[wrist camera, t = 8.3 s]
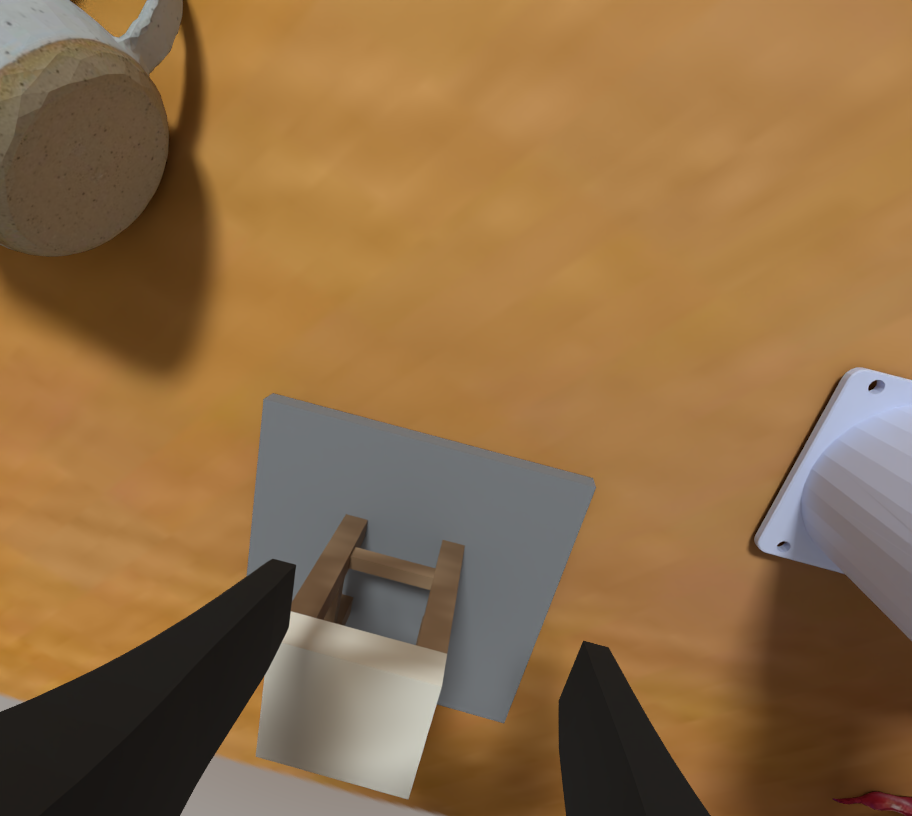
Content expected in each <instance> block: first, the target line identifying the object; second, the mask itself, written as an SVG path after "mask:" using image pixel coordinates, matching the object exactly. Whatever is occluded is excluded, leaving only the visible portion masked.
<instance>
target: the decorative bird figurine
mask: <svg viewBox="0 0 912 816" xmlns="http://www.w3.org/2000/svg"><path fill="white" fill-rule="evenodd" d="M833 800H835V801H837V802H839V803H843V804H855V803H862V804H864V805H866V806H869V807H870V808H872V809H874V810H881V811H883V810H889V811H896V812H898V813H901V814H903V815H906V816H912V798H910V797H906V796H905V797H899V796H894V795H891V794H886V793H882V792H870V793H868V794H865V795H863V796H860V797H855V798H844V799H833Z"/></svg>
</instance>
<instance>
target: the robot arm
mask: <svg viewBox="0 0 912 816" xmlns="http://www.w3.org/2000/svg"><path fill="white" fill-rule="evenodd" d="M875 380H877V385H876V386H875V388H874V389H872V390H870V391H869V390H868V387H869V385H870V384H871V383H872V382H873V381H875ZM754 541H755V544H756V545H757V546H758V548H759V549H760V550H761V551H763V552H765V553H768V554H772V555H776V556H779V557H783V558H787V559H791V560H794V561H798V562H802V563H805V564H809V565H813V566H817V567H820V568H824V569H828V570H832V571H835V572H839V573H843V574H846V575H847V576H848V577H849V578H850V579H851V580H852V581H853V582H854V583H855V585H856V586H857V587H858V588H859V589H860V590H861V591H862V592H863V593H864V594H865V595H866V596H867V597H868V598H869V599H870V600H871V601H872V602H873V603H874V604H875V605H876V606H877V607H878V608H879V609H880V610H881V611H882V612H883V613H884V614H885V615H886V616H887V617H888V618H889V619H890V620H891V621H892V622H893V623H894V624H895V625H896V626H897V627H898V628H899V629H900V630H901V631H902V632H903V633H904V634H905V635H906V636H907V637H908V638H909V639H910V640H911V641H912V380H910V379H906V378H902V377H898V376H894V375H890V374H886V373H882V372H878V371H874V370H870V369H866V368H859V367H857V368H854V369H851V370H849V371H848V372H846V373H845V374H844V376H843V377H842V379H841V380H840V382H839V384H838V386H837V388H836V390H835V391H834V393H833V395H832V397H831V399H830V400H829V402H828V404H827V406H826V408H825V410H824V411H823V413H822V415H821V417H820V419H819V420H818V422H817V424H816V426H815V428H814V430H813V431H812V433H811V435H810V437H809V439H808V440H807V442H806V444H805V446H804V448H803V450H802V451H801V453H800V455H799V457H798V459H797V460H796V462H795V464H794V466H793V468H792V470H791V471H790V473H789V475H788V477H787V479H786V480H785V482H784V484H783V486H782V488H781V489H780V491H779V493H778V495H777V497H776V499H775V500H774V502H773V504H772V506H771V508H770V509H769V511H768V513H767V515H766V517H765V519H764V520H763V522H762V524H761V526H760V528H759V529H758V531H757V533H756V535H755V538H754ZM783 541H785V543H784V544H783V545H782V546H777V545H778V544H779V543H780V542H783ZM295 571H296V565H295V564H291V563H288V562H284V561H280V560H276V559H271V560H269V561H267V562H266V563H265V564H263V565H262V566H260V567H259V568H258V569H256V570H255V571H254V572H252V573H251V574H249V575H248V576H247V577H245V578H244V579H242V580H241V581H240V582H238V583H237V584H235V585H234V586H232V587H231V588H230V589H228V590H227V591H225V592H224V593H222V594H221V595H219V596H218V597H217V598H215V599H214V600H212V601H211V602H209V603H208V604H206V605H205V606H203V607H202V608H200V609H199V610H197V611H196V612H194V613H193V614H191V615H189V616H188V617H186V618H185V619H183V620H181V621H180V622H178V623H176V624H175V625H173V626H172V627H170V628H168V629H167V630H165V631H163V632H162V633H160V634H158V635H157V636H155V637H154V638H152V639H150V640H148V641H147V642H145V643H143V644H141V645H140V646H138V647H136V648H134V649H133V650H131V651H129V652H127V653H125V654H123V655H122V656H120V657H118V658H116V659H114V660H112V661H110V662H108V663H106V664H104V665H103V666H101V667H99V668H97V669H95V670H93V671H91V672H89V673H86V674H84V675H82V676H80V677H78V678H76V679H74V680H72V681H70V682H68V683H66V684H63V685H61V686H59V687H57V688H55V689H52V690H50V691H48V692H46V693H44V694H42V695H39V696H37V697H35V698H33V699H31V700H28V701H26V702H24V703H21V704H19V705H16V706H14V707H11V708H9V709H6V710H4V711H2V712H0V816H180V814H181V813H182V811H183V809H184V807H185V805H186V803H187V801H188V799H189V797H190V796H191V794H192V792H193V790H194V788H195V786H196V784H197V783H198V781H199V779H200V778H201V776H202V774H203V773H204V771H205V769H206V768H207V766H208V764H209V763H210V761H211V759H212V758H213V756H214V755H215V753H216V752H217V750H218V748H219V747H220V745H221V744H222V742H223V740H224V739H225V737H226V736H227V734H228V733H229V731H230V729H231V728H232V726H233V725H234V723H235V722H236V720H237V718H238V717H239V715H240V714H241V712H242V711H243V709H244V707H245V706H246V704H247V703H248V701H249V699H250V698H251V696H252V695H253V693H254V691H255V690H256V688H257V687H258V685H259V684H260V682H261V680H262V679H263V677H264V675H265V674H266V672H267V671H268V669H269V667H270V665H271V663H272V661H273V659H274V657H275V655H276V653H277V651H278V649H279V647H280V645H281V643H282V641H283V639H284V637H285V635H286V633H287V630H288V628H289V622H290V614H291V605H292V596H293V588H294V579H295ZM559 754H560V764H561V773H562V782H563V791H564V800H565V809H566V816H711V815H710V814H709V813H708V811H707V810H706V808H705V807H704V806H703V804H702V803H701V801H700V800H699V798H698V797H697V795H696V794H695V792H694V791H693V789H692V788H691V786H690V785H689V783H688V782H687V780H686V779H685V777H684V776H683V774H682V773H681V771H680V770H679V768H678V767H677V765H676V763H675V762H674V760H673V759H672V757H671V755H670V754H669V752H668V751H667V749H666V747H665V746H664V744H663V742H662V741H661V739H660V737H659V736H658V734H657V732H656V731H655V729H654V727H653V726H652V724H651V722H650V721H649V719H648V717H647V715H646V714H645V712H644V710H643V708H642V707H641V705H640V703H639V701H638V700H637V698H636V696H635V694H634V692H633V691H632V689H631V687H630V685H629V683H628V682H627V680H626V678H625V676H624V674H623V673H622V671H621V669H620V667H619V665H618V664H617V662H616V660H615V658H614V656H613V655H612V653H611V651H610V649H609V648H608V647H605V646H601V645H597V644H594V643H590V642H586V641H583V643H582V645H581V648H580V650H579V652H578V655H577V657H576V660H575V662H574V665H573V667H572V670H571V672H570V674H569V677H568V679H567V682H566V684H565V687H564V689H563V692H562V694H561V696H560V699H559Z"/></svg>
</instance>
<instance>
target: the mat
mask: <svg viewBox="0 0 912 816" xmlns="http://www.w3.org/2000/svg"><path fill="white" fill-rule="evenodd" d="M595 489H596V486H595V483H594V480H593V478H590V477H586V476H583V475H579V474H575V473H571V472H568V471H564V470H560V469H556V468H553V467H549V466H545V465H541V464H538V463H534V462H530V461H526V460H522V459H519V458H515V457H511V456H507V455H504V454H500V453H496V452H492V451H489V450H485V449H481V448H477V447H473V446H470V445H466V444H462V443H458V442H455V441H451V440H447V439H443V438H440V437H436V436H432V435H428V434H425V433H421V432H417V431H413V430H409V429H406V428H402V427H398V426H394V425H391V424H387V423H383V422H379V421H376V420H372V419H368V418H364V417H360V416H357V415H353V414H349V413H345V412H342V411H338V410H334V409H330V408H327V407H323V406H319V405H315V404H312V403H308V402H304V401H300V400H296V399H293V398H289V397H285V396H281V395H278V394H274V393H273V394H271V395H269V396H268V397H266V398H265V399H264V401H263V412H262V422H261V433H260V443H259V454H258V464H257V475H256V485H255V496H254V506H253V517H252V527H251V537H250V548H249V558H248V569H247V576H248V575H249V574H251V573H252V572H254V571H255V570H256V569H258V568H259V567H260V566H262V565H263V564H265V563H266V562H267V561H269V560H271V559H276V560H280V561H284V562H288V563H291V564H295V565H296V571H295V579H294V588H293V596H292V601H293V599H294V598H295V596H296V594H297V593H298V591H299V590H300V588H301V586H302V585H303V583H304V581H305V580H306V578H307V577H308V575H309V573H310V572H311V570H312V568H313V567H314V565H315V564H316V562H317V560H318V559H319V557H320V555H321V554H322V552H323V551H324V549H325V547H326V546H327V544H328V542H329V541H330V539H331V538H332V536H333V534H334V533H335V531H336V530H337V528H338V526H339V525H340V523H341V521H342V520H343V518H344V517H345V515H346V514H347V515H351V516H355V517H359V518H363V519H366V520H368V522H367V527H366V532H365V538H364V540H363V542H362V544H361V546H360V548H361V549H365V550H368V551H372V552H376V553H380V554H383V555H387V556H391V557H395V558H398V559H402V560H406V561H410V562H413V563H417V564H421V565H425V566H429V567H432V568H436V564H437V560H438V556H439V552H440V548H441V544H442V540H446V541H450V542H454V543H457V544H461V545H465V547H464V554H463V560H462V566H461V572H460V578H459V584H458V591H457V597H456V603H455V609H454V615H453V621H452V627H451V634H450V640H449V646H448V652H447V658H446V664H445V670H444V677H443V683H442V688H441V691H440V695H439V698H438V701H437V704H438V705H441V706H445V707H448V708H452V709H455V710H459V711H462V712H466V713H469V714H473V715H477V716H480V717H484V718H487V719H491V720H494V721H498V722H501V723H504V722H505V720H506V717H507V714H508V712H509V709H510V707H511V704H512V702H513V699H514V696H515V694H516V691H517V689H518V686H519V684H520V681H521V678H522V676H523V673H524V671H525V668H526V666H527V663H528V661H529V658H530V655H531V653H532V650H533V648H534V645H535V643H536V640H537V637H538V635H539V632H540V630H541V627H542V625H543V622H544V619H545V617H546V614H547V612H548V609H549V607H550V604H551V602H552V599H553V596H554V594H555V591H556V589H557V586H558V584H559V581H560V578H561V576H562V573H563V571H564V568H565V566H566V563H567V560H568V558H569V555H570V553H571V550H572V548H573V545H574V543H575V540H576V537H577V535H578V532H579V530H580V527H581V525H582V522H583V519H584V517H585V514H586V512H587V509H588V507H589V504H590V501H591V499H592V496H593V494H594V491H595ZM429 593H430V590H428V589H424V588H420V587H417V586H413V585H409V584H405V583H402V582H398V581H394V580H391V579H387V578H383V577H379V576H376V575H372V574H368V573H364V572H361V571H357V570H353V569H349V570H348V572H347V574H346V576H345V579H344V584H343V590H342V594H343V595H347V596H351V597H353V602H352V607H351V612H350V615H349V617H348V620H347V622H346V624H345V626H347V627H350V628H354V629H358V630H361V631H365V632H369V633H372V634H376V635H380V636H383V637H387V638H391V639H394V640H398V641H402V642H406V643H409V644H413V645H416V642H417V637H418V633H419V629H420V626H421V622H422V618H423V616H424V614H425V610H426V605H427V601H428V597H429Z"/></svg>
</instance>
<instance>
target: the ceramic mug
mask: <svg viewBox="0 0 912 816" xmlns="http://www.w3.org/2000/svg"><path fill="white" fill-rule="evenodd" d="M182 13H183V0H147V1H146V3H145V5H144V7H143V9H142V11H141V13H140V15H139V17H138V19H136V20H135V21H134V22H132V24H131V26H130V27H129V29H128V30H127V32H126V33H125V34H124V35H122V36H121V37H119V38H118V37H114V36H112V35H111V34H110V33H109V32H108V31H106V30H105V29H104V28H103V27H102V26H101V25H100V24H99V23H98V22H96V21H95V20H94V19H93V18H92V17H90V16H89V15H88V14H87V13H85V12H84V11H83V10H82V9H80V8H79V7H78V6H77V5H75V4H74V3H72V2H71V1H70V0H0V245H2V246H5V247H7V248H9V249H12V250H15V251H19V252H22V253H26V254H30V255H38V256H47V257H52V256H66V255H71V254H76V253H81V252H84V251H87V250H91V249H94V248H96V247H98V246H100V245H101V244H103V243H105V242H107V241H109V240H111V239H112V238H114V237H115V236H116V235H118V234H119V233H121V232H122V231H123V230H125V229H126V228H127V227H129V226H130V225H131V224H132V223H133V222H134V221H135V220H136V219H137V217H138V216H139V215H140V214H141V213H142V212H143V211H144V209H145V208H146V206H147V205H148V203H149V201H150V200H151V198H152V197H153V195H154V193H155V192H156V190H157V188H158V186H159V183H160V181H161V179H162V175H163V172H164V168H165V164H166V160H167V157H168V147H169V129H168V122H167V115H166V111H165V108H164V105H163V102H162V99H161V95H160V93H159V91H158V90H157V88H156V86H155V84H154V83H153V81H152V80H151V79H150V77H149V73H151V72H152V71H153V70H154V68H155V67H156V66H157V65H159V64H160V63H161V61H162V60H163V59H164V58H165V57H166V56H167V54H168V53H169V52H170V51H171V48H172V45H173V42H174V39H175V36H176V35H177V33H178V30H179V26H180V23H181V20H182Z"/></svg>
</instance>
